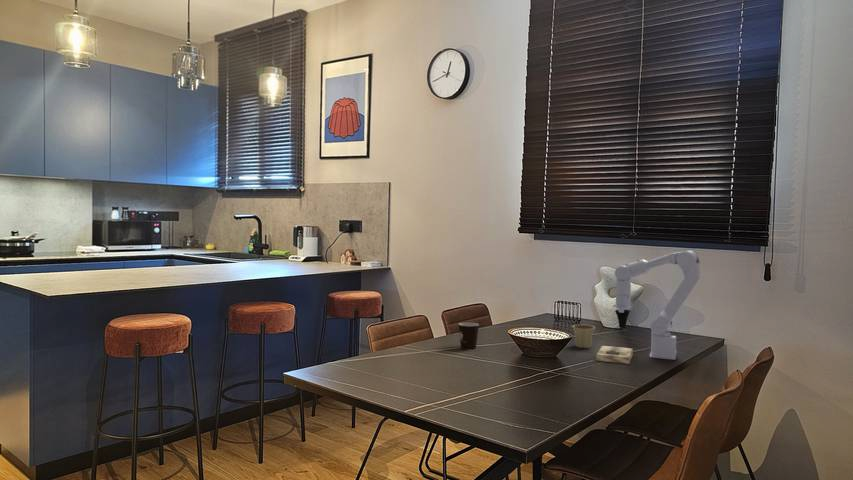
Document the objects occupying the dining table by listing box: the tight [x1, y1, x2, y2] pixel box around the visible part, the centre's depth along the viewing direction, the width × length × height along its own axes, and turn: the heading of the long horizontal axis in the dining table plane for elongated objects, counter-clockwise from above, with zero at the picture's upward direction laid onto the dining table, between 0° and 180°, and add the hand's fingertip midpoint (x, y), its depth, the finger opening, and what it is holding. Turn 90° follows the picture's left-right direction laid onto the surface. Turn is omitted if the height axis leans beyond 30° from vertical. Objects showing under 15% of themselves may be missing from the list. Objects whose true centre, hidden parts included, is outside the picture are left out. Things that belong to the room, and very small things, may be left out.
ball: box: [608, 350, 618, 355], centre depth 229 cm, size 4×4×4 cm
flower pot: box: [571, 324, 596, 349], centre depth 251 cm, size 9×9×9 cm
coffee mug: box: [457, 322, 480, 350], centre depth 248 cm, size 12×9×10 cm
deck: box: [595, 345, 634, 364], centre depth 232 cm, size 12×17×2 cm
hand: (622, 327), depth 243 cm, fingers closed
